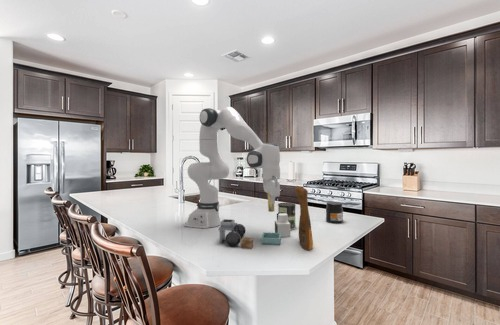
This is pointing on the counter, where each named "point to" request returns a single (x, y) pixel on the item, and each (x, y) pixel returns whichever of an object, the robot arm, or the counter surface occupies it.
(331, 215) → the supplement container
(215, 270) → the counter surface
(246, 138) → the robot arm
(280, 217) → the medicine bottle
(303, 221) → the brown wooden upright piece
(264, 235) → the tray
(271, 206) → the pin
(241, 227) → the trolley
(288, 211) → the coffee can
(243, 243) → the chock
